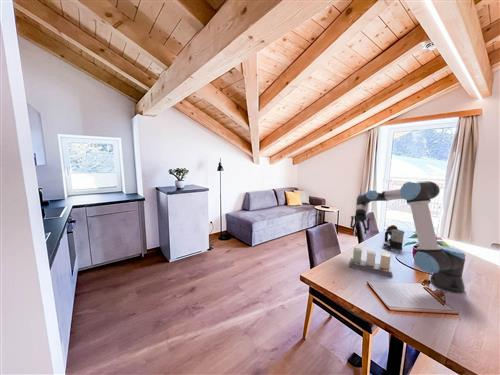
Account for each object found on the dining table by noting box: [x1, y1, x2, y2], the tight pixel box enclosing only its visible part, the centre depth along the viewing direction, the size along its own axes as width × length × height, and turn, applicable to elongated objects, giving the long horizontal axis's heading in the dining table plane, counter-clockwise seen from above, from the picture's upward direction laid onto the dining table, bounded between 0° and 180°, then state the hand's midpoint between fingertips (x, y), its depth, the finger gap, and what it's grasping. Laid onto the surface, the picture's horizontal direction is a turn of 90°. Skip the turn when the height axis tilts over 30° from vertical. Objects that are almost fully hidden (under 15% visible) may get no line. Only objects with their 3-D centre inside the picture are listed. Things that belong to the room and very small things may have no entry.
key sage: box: [352, 247, 363, 263], centre depth 151 cm, size 4×5×9 cm
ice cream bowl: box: [385, 224, 399, 241], centre depth 197 cm, size 11×11×15 cm
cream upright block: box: [365, 249, 377, 266], centre depth 147 cm, size 4×5×9 cm
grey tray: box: [349, 257, 394, 278], centre depth 146 cm, size 12×25×3 cm, turn 62°
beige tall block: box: [379, 252, 391, 270], centre depth 143 cm, size 4×5×9 cm
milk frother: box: [383, 229, 405, 251], centre depth 179 cm, size 14×16×15 cm
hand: (358, 236), depth 160 cm, fingers open, 6 cm apart
